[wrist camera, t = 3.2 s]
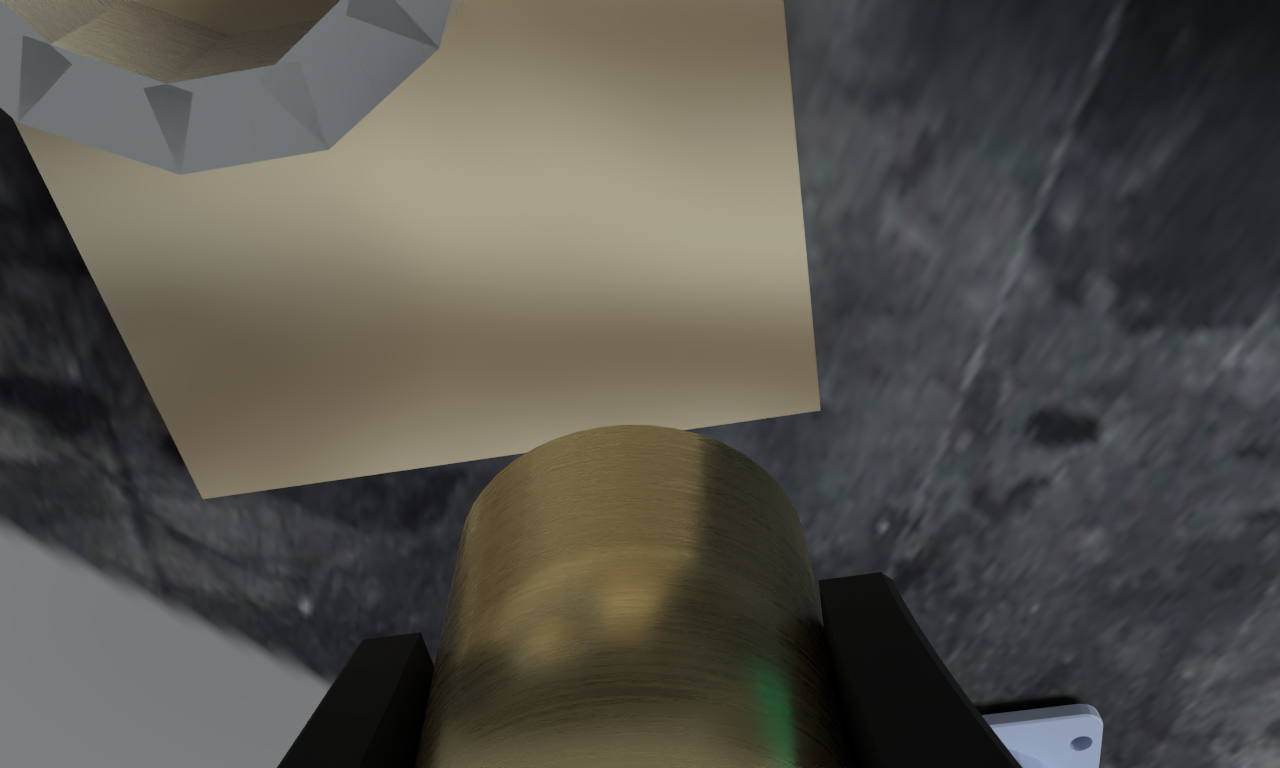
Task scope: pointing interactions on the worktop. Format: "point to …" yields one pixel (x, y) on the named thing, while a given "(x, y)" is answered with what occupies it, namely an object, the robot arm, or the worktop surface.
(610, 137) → the jig plate
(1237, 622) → the worktop surface
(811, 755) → the brass sleeve
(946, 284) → the worktop surface
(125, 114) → the bore collar
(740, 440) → the worktop surface
